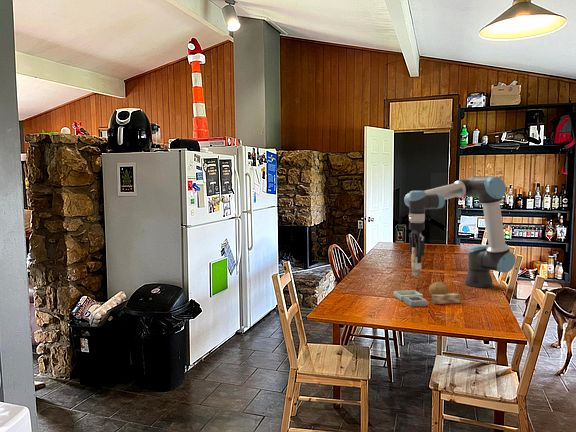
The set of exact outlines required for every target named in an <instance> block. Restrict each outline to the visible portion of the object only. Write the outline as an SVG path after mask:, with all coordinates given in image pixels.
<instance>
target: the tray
mask: <svg viewBox="0 0 576 432" xmlns="http://www.w3.org/2000/svg"><path fill="white" fill-rule="evenodd" d="M410 296H421V297H422V298H424V294H422V293H421V292H419V291H417V290H416V289H411V290H410V289H408V290H407V289H406V290H393V297H395V298H396V299H398V300H399V301H401V302H403V297H410Z"/></svg>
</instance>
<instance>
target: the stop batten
mask: <svg viewBox="0 0 576 432" xmlns="http://www.w3.org/2000/svg"><path fill="white" fill-rule="evenodd" d="M431 303H432V304H434V305H438V304H439V305H441V304H459V303H461V294H460V293H457V292H454V293H448V294H434V295H432V296H431Z"/></svg>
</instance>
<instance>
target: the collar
mask: <svg viewBox="0 0 576 432" xmlns="http://www.w3.org/2000/svg"><path fill="white" fill-rule="evenodd" d="M402 302H403V303H404V304H406V305H408V307H426V306H427V307H428V306H429V301H428V300H427V299H426V298H424V297H423V298H422V297H421V296H410V297H403V301H402Z"/></svg>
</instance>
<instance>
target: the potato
mask: <svg viewBox="0 0 576 432" xmlns="http://www.w3.org/2000/svg"><path fill="white" fill-rule="evenodd" d="M428 293H429V295H430V296H431V297H432V295H434V294H449V288H448V287H447V285H446V283H443V282H441V281H436V282H433V283H431V284H430V286H429V287H428Z"/></svg>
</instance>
